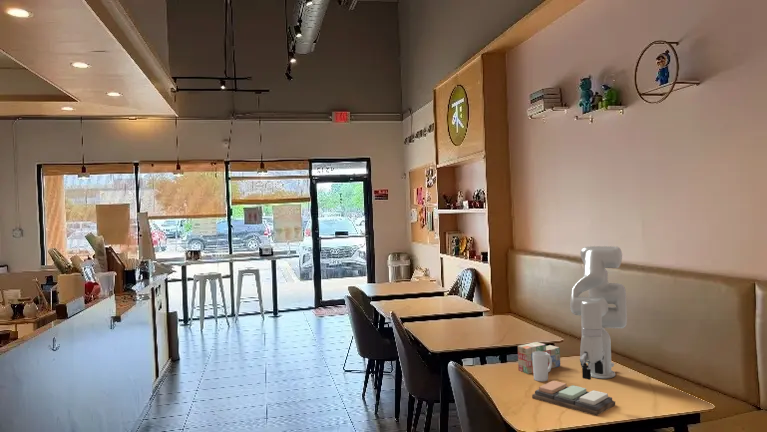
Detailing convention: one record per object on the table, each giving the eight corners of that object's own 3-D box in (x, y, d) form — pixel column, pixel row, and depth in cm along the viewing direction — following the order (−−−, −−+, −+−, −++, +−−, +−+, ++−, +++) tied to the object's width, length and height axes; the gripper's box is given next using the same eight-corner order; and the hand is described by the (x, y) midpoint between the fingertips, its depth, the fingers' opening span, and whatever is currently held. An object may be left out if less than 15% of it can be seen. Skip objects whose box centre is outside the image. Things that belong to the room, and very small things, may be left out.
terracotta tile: (553, 384, 236) (553, 380, 236) (566, 387, 232) (566, 383, 232) (539, 390, 229) (538, 387, 229) (552, 394, 224) (551, 390, 224)
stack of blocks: (551, 363, 276) (550, 338, 276) (560, 366, 271) (559, 341, 270) (518, 370, 266) (517, 345, 266) (527, 374, 261) (526, 348, 260)
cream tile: (593, 394, 223) (593, 390, 223) (607, 397, 218) (607, 393, 218) (579, 401, 215) (579, 397, 215) (594, 405, 211) (594, 401, 211)
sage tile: (572, 389, 229) (572, 385, 229) (586, 392, 225) (586, 388, 225) (558, 395, 222) (558, 392, 222) (572, 399, 218) (572, 395, 218)
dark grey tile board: (551, 388, 239) (551, 382, 239) (615, 405, 218) (615, 397, 218) (532, 398, 229) (532, 390, 229) (596, 415, 208) (596, 408, 208)
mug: (540, 382, 248) (539, 356, 247) (530, 378, 254) (529, 352, 253) (557, 378, 252) (556, 352, 252) (547, 374, 258) (546, 349, 258)
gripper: (593, 327, 225) (594, 369, 225) (571, 334, 213) (572, 379, 213) (611, 330, 219) (612, 373, 219) (589, 337, 207) (591, 383, 207)
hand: (592, 376), depth 216 cm, fingers open, 9 cm apart
